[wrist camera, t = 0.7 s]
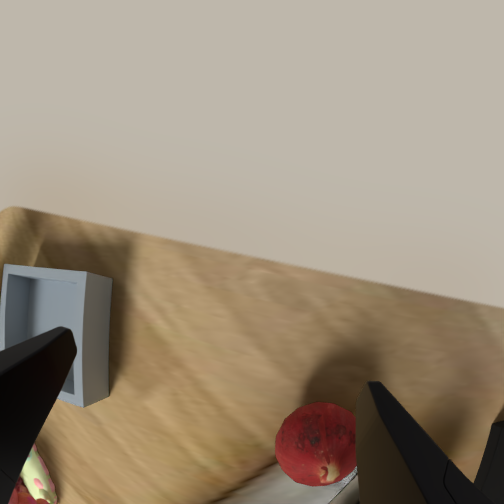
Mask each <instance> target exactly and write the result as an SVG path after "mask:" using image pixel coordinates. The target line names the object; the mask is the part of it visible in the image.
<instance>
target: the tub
mask: <svg viewBox="0 0 504 504" xmlns="http://www.w3.org/2000/svg"><path fill="white" fill-rule="evenodd" d="M112 282H113V279H112V278H109V277H105V276H101V275H97V274H94V273H90V272H85V271H73V270H62V269H51V268H40V267H30V266H21V265H11V264H4V270H3V280H2V290H1V305H0V351H2V350H4V349H6V348H9V347H11V346H13V345H16V344H18V343H21V342H23V341H25V340H28V339H30V338H32V337H35V336H37V335H40V334H42V333H44V332H47V331H49V330H52V329H54V328H56V327H59V326H63V327H66V328H69V329H71V331H72V332H73V336H74V339H75V343H76V346H77V355H76V357H75V360H74V362H73V364H72V366H71V369H70V371H69V373H68V376H67V378H66V380H65V383H64V385H63V387H62V390H61V392H60V394H59V396H58V398H57V399H59V400H62V401H65V402H68V403H71V404H74V405H77V406H80V407H83V408H84V407H86V406H89V405H91V404H93V403H96V402H98V401H100V400H102V399H105V398H107V397H109V375H108V362H109V325H110V307H111V294H112Z"/></svg>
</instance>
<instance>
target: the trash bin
mask: <svg viewBox="0 0 504 504" xmlns="http://www.w3.org/2000/svg"><path fill="white" fill-rule="evenodd" d="M473 484H474V485H475V486H476V487H477V488H478V489H480V490H481V491H482V492H483V493H484V494H485V495H486V496H487V497H489V498H490V499H491V500H492V501H493V502H494V503H495V504H504V420H503V421H500V422H497V423H493V424H492V426H491V430H490V434H489V438H488V441H487V445H486V448H485V452H484V455H483V458H482V461H481V464H480V467H479V470H478V473H477V475H476V478H475V481H474V483H473Z"/></svg>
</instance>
